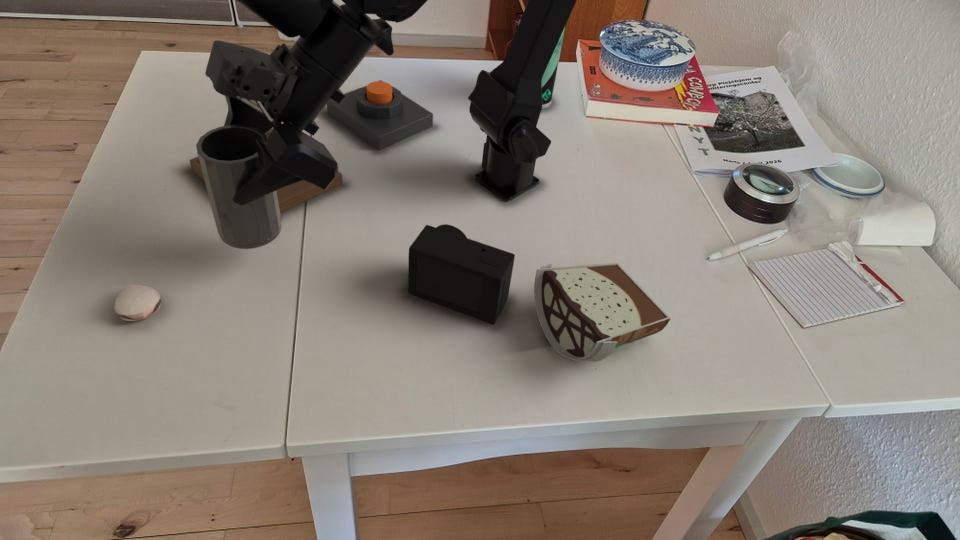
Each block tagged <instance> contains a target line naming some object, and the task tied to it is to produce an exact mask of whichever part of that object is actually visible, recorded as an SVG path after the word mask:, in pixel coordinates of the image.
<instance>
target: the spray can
mask: <svg viewBox="0 0 960 540" xmlns="http://www.w3.org/2000/svg"><path fill="white" fill-rule="evenodd" d="M565 30H566V27H565V28H564V30H563V32H562V34H561V37H560V39H559V41H558V43H557V46H556V48H555V50H554V52H553V55H552V57H551V59H550V61H549V63H548V66H547V68H546V70H545V72H544V75H543V77H542V110H543V109H546V108H549V107H550V106H551V104H552V102H553V95H554V90H555V85H556V79H557V74H558V68H559V62H560V57H561V52H562V47H563V41H564V36H565V35H564V34H565Z"/></svg>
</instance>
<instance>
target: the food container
mask: <svg viewBox="0 0 960 540" xmlns="http://www.w3.org/2000/svg"><path fill="white" fill-rule="evenodd" d="M533 285H534V288H533V289H534V290H533V293H534V294H533V295H534V304H535V310H536V314H537V319H538V322H539V325H540V328H541V329H542V331H543V334H544V336H545V338H546V339H547V341H548V342H549V344H550V345H551V347H552V348H553V349H554V350H555V351H556V352H557V353H558V354H560V355H561V356H562V357H564V358H566V359H569V360H573V361H576V362H594V363H595V362H599V361H602V360H604V359H606V358H607V357H608V356H610V355H611V354H612V352H613V351H614V349H616V348H619V347H621V346H624V345H627V344H630V343H633V342H636V341H639V340H641V339H645V338H648V337H650V336H652V335H655V334H658V333H660V332H662V331H663V330H664V329H665V328H666V327H667V325H668V324H669V322H670V320H671V319H672V318H671V316H670V315H668V314H667V312H666V311H665V310H663V308H661V306H660V305H659V304H658V303H657V302H656V301H655V300H654V299H653V297H651V296H650V295H649V293H648V292H646V291H645V289H643V287H642V286H641V285H639V283H638V282H636V280H635V279H634V278H633V276H631V275H630V274H629V273H628V271H626V270H625V269H624V268H623V266H622V265H620V264H619V262H612V263H596V264H584V265H569V266H557V267H556V266H555V267H552V264H551V263H549V264H546V265H543V266H540V268H537V269H536V271H535V277H534V283H533Z"/></svg>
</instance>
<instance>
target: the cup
mask: <svg viewBox="0 0 960 540" xmlns="http://www.w3.org/2000/svg"><path fill="white" fill-rule="evenodd" d="M256 139H258V140H260V141H262V142H263V143H265V144H266V143H267V136H266V135H265V134H264V133H263V132H262V131H260V130H259V129H257V128H254V127H251V126H247V125H228V126H224V125H222V126H218V127H216V128H213V129H211V130H209V131H207V132H205V133H204V134H202V135H201V136H200V137H199V139H198V140H197V142H196V144H195V147H196V148H195V149H196V153H197V157H199V161H200V165H201V169H202V173H203V176H204V180H205V182H204V185H205V189H206V192H207V195H208V199H209V202H210V208H211V211H212V216H213V219H214V222H215V226H216V231H217V234H218V237H219V238H220V240H221V241H222V242H223V243H224V244H226V245H227V246H229V247H231V248H235V249H239V250H251V249H252V250H253V249H257V248H262V247H264V246H266V245H268V244H270V243H272V242H273V241H274V240H276V239H277V237H279V235H280V234H281V232H282V230H283V229H282V228H283V220H282V215H281V213H280V209H279V203H278V197H277V191H274V192H271V193H269V194H267V195H265V196H263V197H260V198H258V199H256V200H254V201H252V202H249V203H247V204H245V205H239V204H236V203H234V201H233V198H234V196H235V194H236V192H237V190H238V188H239V187H240V185H241V184H242V182H243V180H244V179H245V177H246V176H247V174H248V173H249V171H250V170H251V168H252V166H253V165H254V163H255V162H256V160H257V158H258V154H257V147H256Z"/></svg>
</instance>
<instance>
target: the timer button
mask: <svg viewBox="0 0 960 540" xmlns="http://www.w3.org/2000/svg"><path fill="white" fill-rule="evenodd" d="M366 86H367V87H366V89H367V100H368V101H369V102H372V103H377V104H383V103H388V102H390V101H392V87H393V86H392V84H390V83H389V82H387V81H383V80H381V81H380V80H377V81H376V80H375V81H372V82H370V83H368V84H367V85H366Z"/></svg>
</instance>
